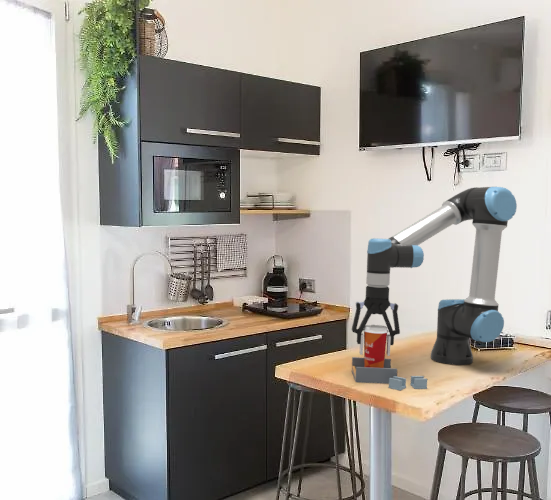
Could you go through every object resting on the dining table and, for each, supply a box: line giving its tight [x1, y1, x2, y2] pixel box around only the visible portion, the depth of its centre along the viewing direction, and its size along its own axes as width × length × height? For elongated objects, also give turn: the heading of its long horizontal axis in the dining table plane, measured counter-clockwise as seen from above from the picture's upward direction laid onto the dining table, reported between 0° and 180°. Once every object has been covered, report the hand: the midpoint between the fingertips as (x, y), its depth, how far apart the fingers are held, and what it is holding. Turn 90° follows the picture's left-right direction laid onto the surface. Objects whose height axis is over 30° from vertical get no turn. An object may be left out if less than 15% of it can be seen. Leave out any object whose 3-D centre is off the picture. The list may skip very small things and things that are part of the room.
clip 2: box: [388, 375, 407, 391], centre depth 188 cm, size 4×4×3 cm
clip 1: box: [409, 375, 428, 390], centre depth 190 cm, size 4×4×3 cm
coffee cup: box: [362, 324, 389, 368], centre depth 199 cm, size 8×8×15 cm
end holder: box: [351, 356, 398, 385], centre depth 199 cm, size 13×14×5 cm
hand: (374, 354), depth 199 cm, fingers closed on coffee cup, 8 cm apart
